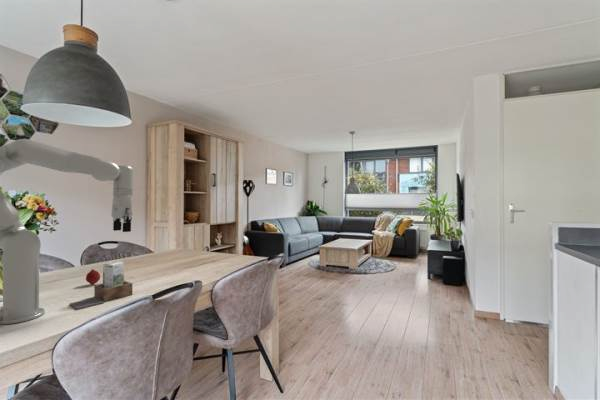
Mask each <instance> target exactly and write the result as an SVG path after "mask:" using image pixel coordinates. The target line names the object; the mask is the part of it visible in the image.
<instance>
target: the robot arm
mask: <svg viewBox="0 0 600 400" xmlns="http://www.w3.org/2000/svg"><path fill="white" fill-rule="evenodd" d="M26 164H28V165H30V164H31V165H34V166H39V167H42V168H46V169H50V170H54V171H58V172H63V173H72V174H74V173H75V174H83V175H88V176H89V175H90V176H91V177H92V178H94V180H96V181H101V182H107V181H108V182H109V181H112V182H113V183H112V185H113V187H112V188H113V189H112V197H113V198H112V199H113V200H112V205H111V217H112V219H113V220H112V221H113V223H112V225H113V226H112V227H113V228H112V229H113V231H114V232H116V231H122V232H123V233H129V232H132V219H133V205H132V204H133V203H132V202H133V201H132V200H133V199H132V197H133V192H134V191H133V181H134V169H133V167H132V166H130V165H118V164H117V163H114V162H112V161H109V160H106V159H102V158H99V157H95V156H93V155H87V154H82V153H79V152H75V151H69V150H65V149H64V148H63V149H62V148H59V147H56V146H52V145H49V144H46V143H43V142H38V141H36V140H32V139H27V138H19V139H16V140H14V141H12V142H10V143H8V144H7V143H6V144H4V145H2V146H0V174H1V173H4V172H7V171H9V170H13V169H15V168H19V167H21V166H23V165H26ZM122 221H123V222H122ZM0 249H1V250H2V251H3V255H2V306H0V325H9V324H11V325H12V324H17V323H18V324H19V323H22V322H29V321H31V320H34V319H36V318H39V317H41V316H43V315H44V314H45V309H44V308H43V307H40V254H41V240H40V237H39V235H37V233H36V232H34V231H32V230H29V229H27V227H25V225H24V224H23V221H21V220H20V213H19V211H18V210H17V208H16V207H15V206H14V205H13V204H12V202H11V201H10V200H9V199H8V198H7V196H6V194H5V193H4V192H3V190H2V188H0Z"/></svg>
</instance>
